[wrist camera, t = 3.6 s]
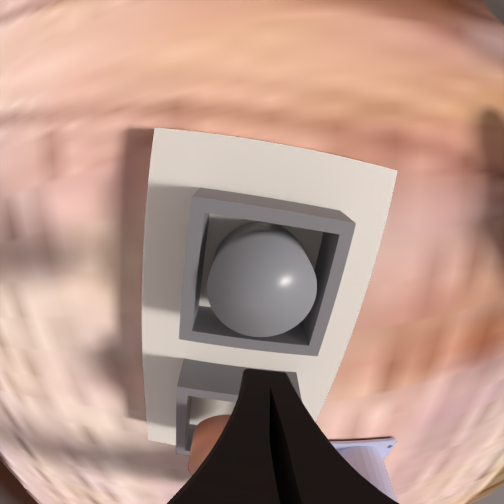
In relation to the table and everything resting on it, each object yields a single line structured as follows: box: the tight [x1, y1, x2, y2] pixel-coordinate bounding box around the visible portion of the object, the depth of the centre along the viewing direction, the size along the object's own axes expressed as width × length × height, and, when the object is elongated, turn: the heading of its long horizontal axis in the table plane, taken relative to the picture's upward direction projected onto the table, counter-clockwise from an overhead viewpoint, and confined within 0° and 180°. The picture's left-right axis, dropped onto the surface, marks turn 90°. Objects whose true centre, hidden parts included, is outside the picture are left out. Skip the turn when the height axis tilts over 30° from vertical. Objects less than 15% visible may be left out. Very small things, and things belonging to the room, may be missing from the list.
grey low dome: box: [207, 223, 317, 337], centre depth 15 cm, size 5×5×2 cm
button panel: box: [142, 128, 397, 456], centre depth 18 cm, size 22×12×4 cm, turn 171°
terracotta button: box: [188, 415, 231, 475], centre depth 15 cm, size 5×5×2 cm
